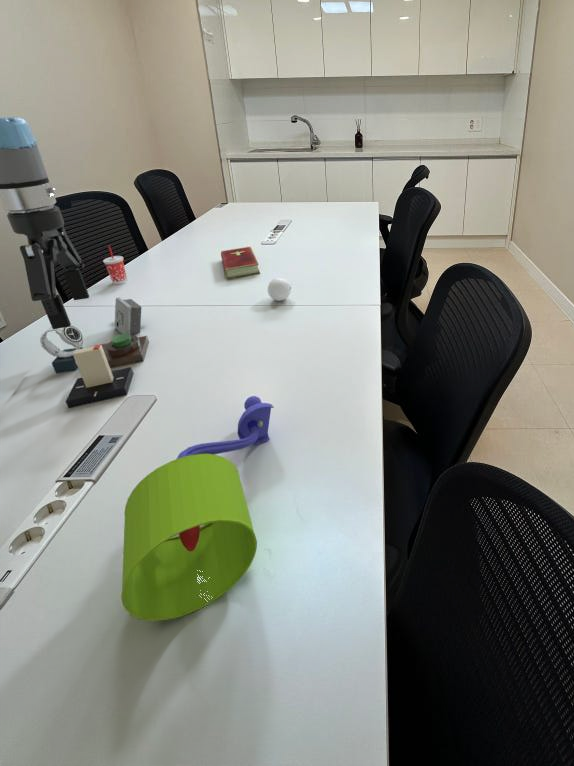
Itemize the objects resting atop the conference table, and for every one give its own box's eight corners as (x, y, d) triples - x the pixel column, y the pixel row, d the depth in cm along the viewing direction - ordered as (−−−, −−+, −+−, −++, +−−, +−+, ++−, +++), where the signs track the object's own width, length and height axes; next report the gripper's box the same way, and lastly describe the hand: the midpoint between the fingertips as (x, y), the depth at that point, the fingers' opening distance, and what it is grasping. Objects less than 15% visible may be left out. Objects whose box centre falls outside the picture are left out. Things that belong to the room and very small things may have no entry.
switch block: (88, 372, 93) (82, 359, 92) (97, 352, 101) (93, 339, 99) (143, 361, 97) (139, 348, 95) (149, 342, 105) (145, 329, 103)
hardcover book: (226, 279, 141) (224, 269, 139) (222, 260, 158) (220, 250, 157) (260, 273, 145) (258, 263, 143) (252, 255, 163) (250, 245, 161)
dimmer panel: (67, 410, 82) (64, 402, 81) (80, 383, 90) (77, 376, 89) (126, 397, 85) (123, 389, 84) (134, 372, 93) (131, 364, 92)
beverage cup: (109, 281, 142) (97, 245, 136) (127, 276, 145) (117, 241, 140) (112, 286, 138) (100, 250, 132) (131, 281, 141) (120, 245, 136)
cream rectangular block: (86, 387, 85) (72, 353, 81) (88, 383, 86) (74, 349, 83) (112, 382, 87) (99, 348, 83) (113, 377, 88) (101, 344, 84)
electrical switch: (114, 328, 112) (108, 298, 109) (134, 322, 116) (129, 293, 112) (126, 339, 106) (120, 309, 103) (147, 333, 110) (141, 303, 107)
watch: (84, 369, 94) (69, 331, 90) (47, 374, 93) (30, 335, 89) (95, 356, 99) (81, 319, 95) (60, 360, 98) (44, 323, 94)
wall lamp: (127, 382, 64) (121, 548, 40) (265, 366, 76) (323, 486, 52) (127, 453, 69) (121, 641, 45) (257, 427, 81) (307, 565, 56)
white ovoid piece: (293, 302, 123) (291, 281, 120) (269, 306, 121) (266, 285, 118) (290, 289, 132) (287, 269, 129) (267, 292, 130) (265, 272, 127)
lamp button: (112, 349, 96) (110, 343, 95) (115, 341, 99) (113, 335, 98) (130, 346, 97) (128, 340, 96) (133, 337, 100) (131, 332, 100)
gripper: (29, 223, 61) (75, 338, 70) (77, 193, 82) (107, 284, 91) (-30, 229, 59) (25, 347, 68) (34, 196, 80) (70, 290, 88)
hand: (72, 311), depth 79 cm, fingers open, 12 cm apart
